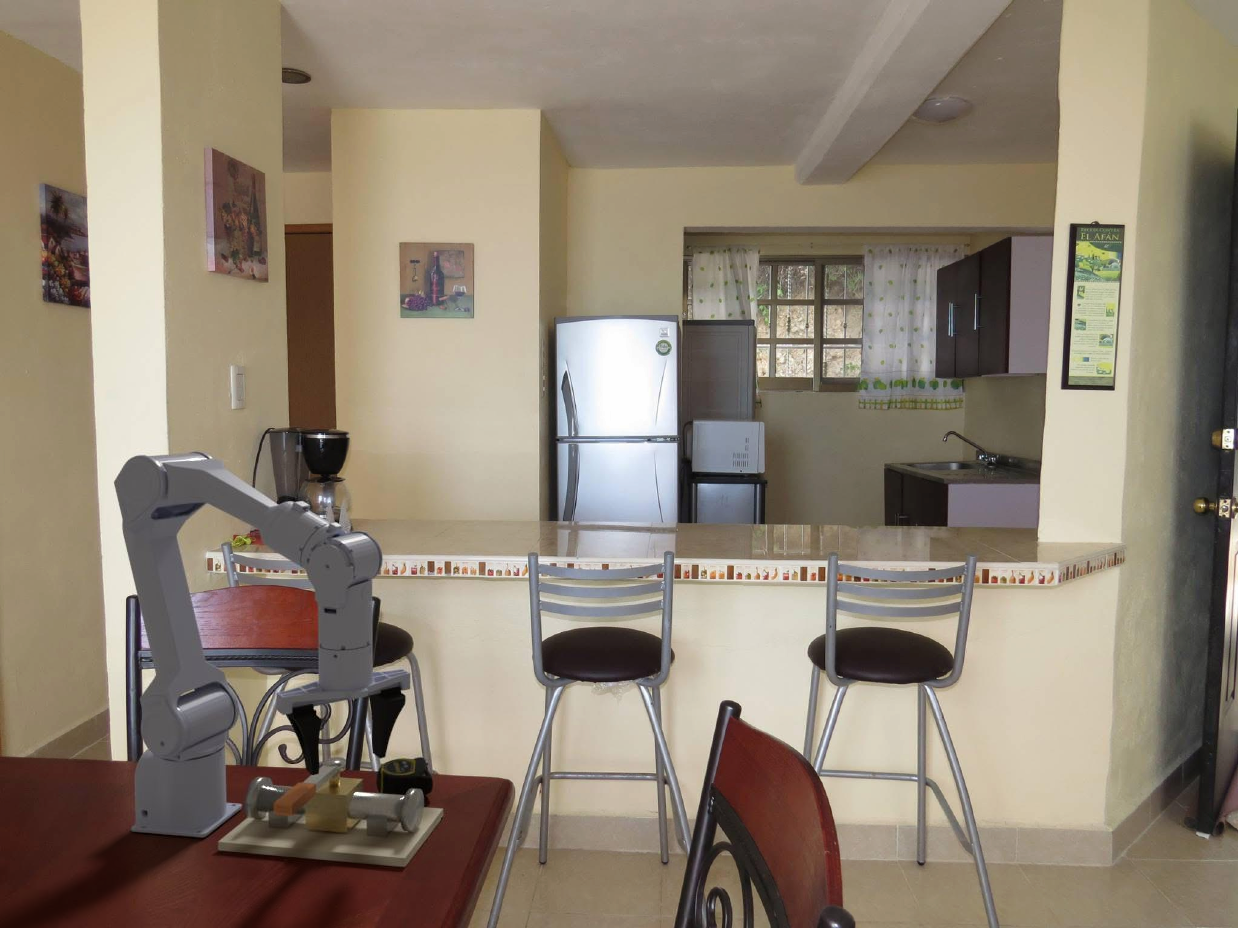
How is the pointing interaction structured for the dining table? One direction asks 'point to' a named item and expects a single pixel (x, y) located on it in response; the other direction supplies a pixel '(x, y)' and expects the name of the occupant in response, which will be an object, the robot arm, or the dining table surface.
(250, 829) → the board
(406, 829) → the ball valve
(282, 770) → the dining table surface
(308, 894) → the dining table surface
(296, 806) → the valve lever
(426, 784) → the tape measure
